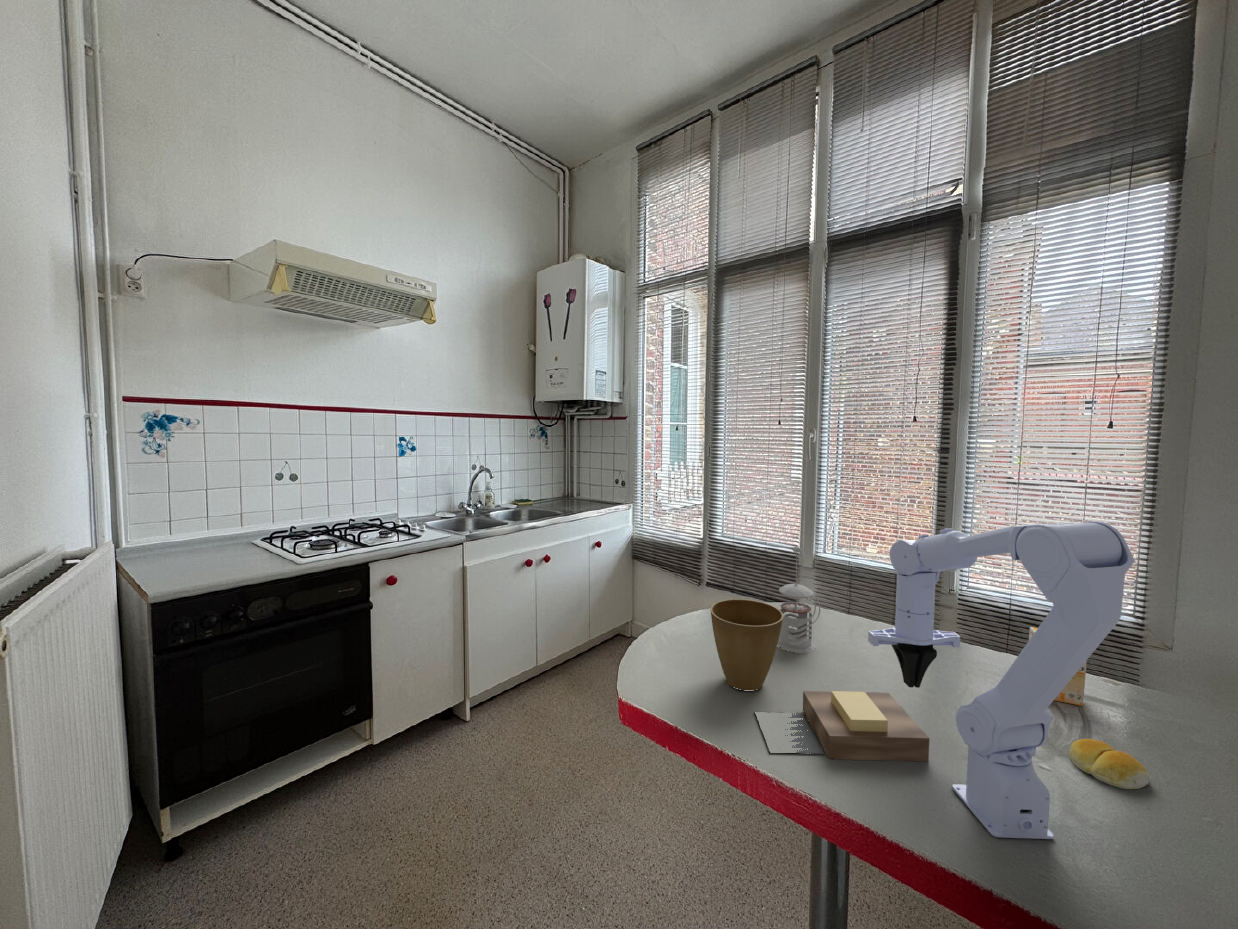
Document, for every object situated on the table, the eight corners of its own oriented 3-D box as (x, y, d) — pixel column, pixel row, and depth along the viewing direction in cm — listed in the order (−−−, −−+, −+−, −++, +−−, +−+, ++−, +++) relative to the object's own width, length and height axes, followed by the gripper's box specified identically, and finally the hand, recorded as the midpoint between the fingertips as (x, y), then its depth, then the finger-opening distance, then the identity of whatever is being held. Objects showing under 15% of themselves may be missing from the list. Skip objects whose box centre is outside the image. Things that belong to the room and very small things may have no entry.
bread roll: (1092, 749, 86) (1093, 727, 86) (1158, 786, 77) (1160, 761, 77) (1054, 757, 84) (1055, 734, 84) (1117, 795, 75) (1119, 770, 75)
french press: (766, 639, 130) (768, 543, 128) (804, 633, 134) (806, 540, 131) (790, 655, 121) (792, 553, 119) (830, 649, 124) (833, 549, 122)
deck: (928, 761, 83) (929, 738, 83) (829, 759, 84) (829, 736, 83) (887, 712, 97) (888, 692, 97) (802, 711, 98) (803, 691, 97)
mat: (823, 755, 85) (823, 753, 85) (769, 753, 85) (769, 752, 85) (801, 713, 97) (801, 712, 97) (754, 712, 97) (754, 711, 97)
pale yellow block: (887, 731, 84) (887, 720, 84) (850, 731, 85) (851, 719, 85) (864, 702, 93) (864, 691, 93) (831, 701, 94) (831, 691, 93)
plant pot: (704, 695, 103) (705, 619, 102) (715, 663, 117) (715, 595, 116) (781, 708, 99) (782, 628, 97) (782, 672, 113) (783, 602, 111)
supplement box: (1030, 697, 102) (1034, 634, 101) (1025, 686, 106) (1028, 626, 105) (1084, 708, 98) (1089, 642, 97) (1076, 696, 102) (1080, 633, 101)
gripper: (944, 601, 91) (941, 673, 92) (861, 600, 91) (859, 672, 92) (969, 616, 84) (965, 694, 85) (879, 615, 84) (877, 693, 85)
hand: (911, 684), depth 88 cm, fingers closed
